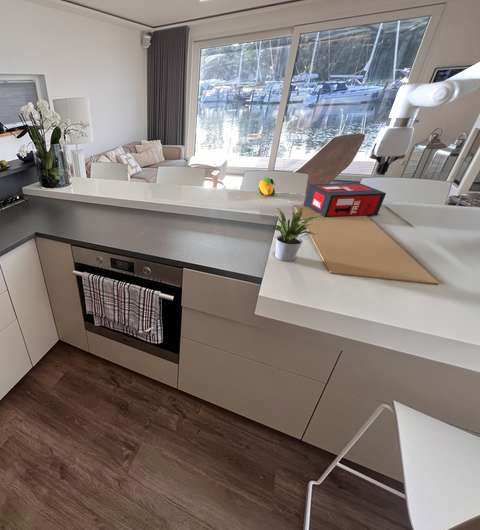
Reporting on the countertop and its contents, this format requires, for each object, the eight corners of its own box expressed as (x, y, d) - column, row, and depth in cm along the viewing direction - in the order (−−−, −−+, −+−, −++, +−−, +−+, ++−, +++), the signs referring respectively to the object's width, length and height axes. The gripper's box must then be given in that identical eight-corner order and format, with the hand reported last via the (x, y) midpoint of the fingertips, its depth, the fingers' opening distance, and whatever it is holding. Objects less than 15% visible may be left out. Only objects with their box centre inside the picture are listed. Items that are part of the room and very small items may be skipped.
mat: (358, 209, 121) (359, 208, 120) (438, 284, 74) (439, 283, 73) (294, 207, 128) (294, 206, 128) (330, 273, 81) (330, 272, 81)
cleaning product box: (350, 202, 128) (303, 204, 129) (357, 182, 123) (309, 184, 125) (377, 215, 113) (324, 217, 115) (386, 193, 109) (331, 195, 110)
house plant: (319, 273, 81) (337, 219, 73) (265, 268, 85) (277, 216, 77) (306, 251, 93) (321, 202, 85) (260, 247, 97) (270, 200, 89)
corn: (274, 174, 149) (279, 184, 133) (272, 189, 152) (277, 200, 136) (258, 175, 151) (262, 185, 135) (257, 189, 155) (260, 200, 139)
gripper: (420, 121, 106) (398, 172, 115) (371, 123, 110) (354, 171, 119) (431, 123, 99) (408, 176, 109) (379, 124, 104) (361, 176, 113)
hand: (380, 174), depth 114 cm, fingers closed
